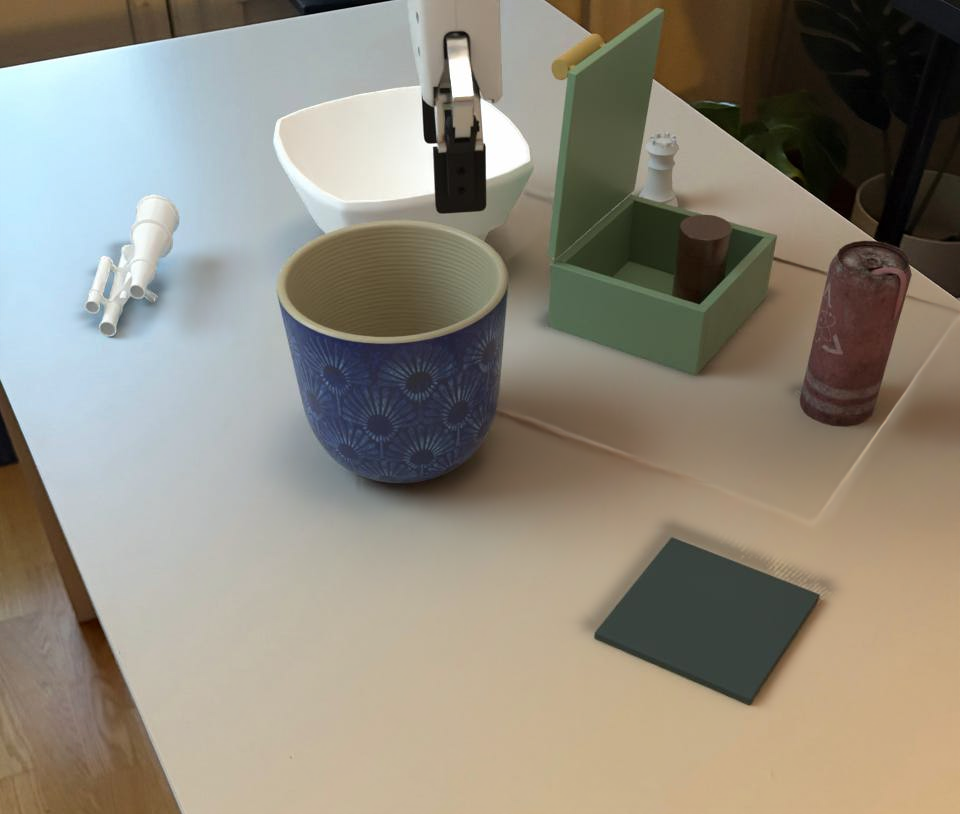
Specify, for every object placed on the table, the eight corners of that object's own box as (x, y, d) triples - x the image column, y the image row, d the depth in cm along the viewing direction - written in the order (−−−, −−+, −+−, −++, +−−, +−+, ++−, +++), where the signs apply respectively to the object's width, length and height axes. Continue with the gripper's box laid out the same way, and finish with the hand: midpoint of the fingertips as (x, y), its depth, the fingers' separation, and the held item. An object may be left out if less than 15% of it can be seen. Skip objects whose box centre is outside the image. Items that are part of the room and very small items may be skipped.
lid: (665, 9, 101) (616, -7, 102) (576, 74, 93) (525, 56, 94) (634, 190, 113) (591, 174, 114) (554, 260, 105) (509, 242, 107)
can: (849, 445, 100) (891, 288, 89) (784, 414, 103) (817, 258, 92) (887, 412, 103) (933, 256, 92) (823, 383, 106) (860, 228, 95)
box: (764, 305, 114) (777, 235, 108) (694, 384, 106) (704, 312, 101) (624, 263, 119) (630, 193, 114) (547, 335, 111) (550, 264, 106)
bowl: (340, 342, 111) (326, 219, 102) (266, 232, 124) (248, 114, 115) (558, 287, 116) (563, 165, 107) (465, 187, 129) (463, 71, 120)
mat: (818, 600, 88) (820, 594, 88) (749, 705, 82) (751, 699, 82) (670, 542, 93) (671, 536, 92) (593, 638, 86) (594, 632, 86)
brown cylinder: (725, 317, 111) (740, 222, 104) (704, 340, 109) (718, 245, 102) (682, 304, 112) (694, 209, 106) (660, 326, 110) (670, 231, 103)
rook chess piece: (625, 220, 124) (631, 140, 118) (647, 202, 127) (654, 123, 120) (663, 232, 123) (672, 152, 116) (685, 214, 125) (694, 134, 119)
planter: (363, 542, 93) (344, 368, 81) (267, 429, 102) (237, 258, 91) (547, 466, 99) (553, 293, 87) (440, 366, 108) (433, 198, 96)
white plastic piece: (129, 354, 113) (77, 319, 110) (150, 275, 122) (102, 241, 119) (177, 295, 109) (124, 257, 106) (194, 219, 118) (146, 182, 115)
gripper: (532, -86, 62) (527, 236, 75) (494, -182, 73) (495, 114, 86) (385, -78, 61) (405, 244, 75) (369, -176, 72) (389, 120, 86)
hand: (453, 174), depth 80 cm, fingers open, 9 cm apart
